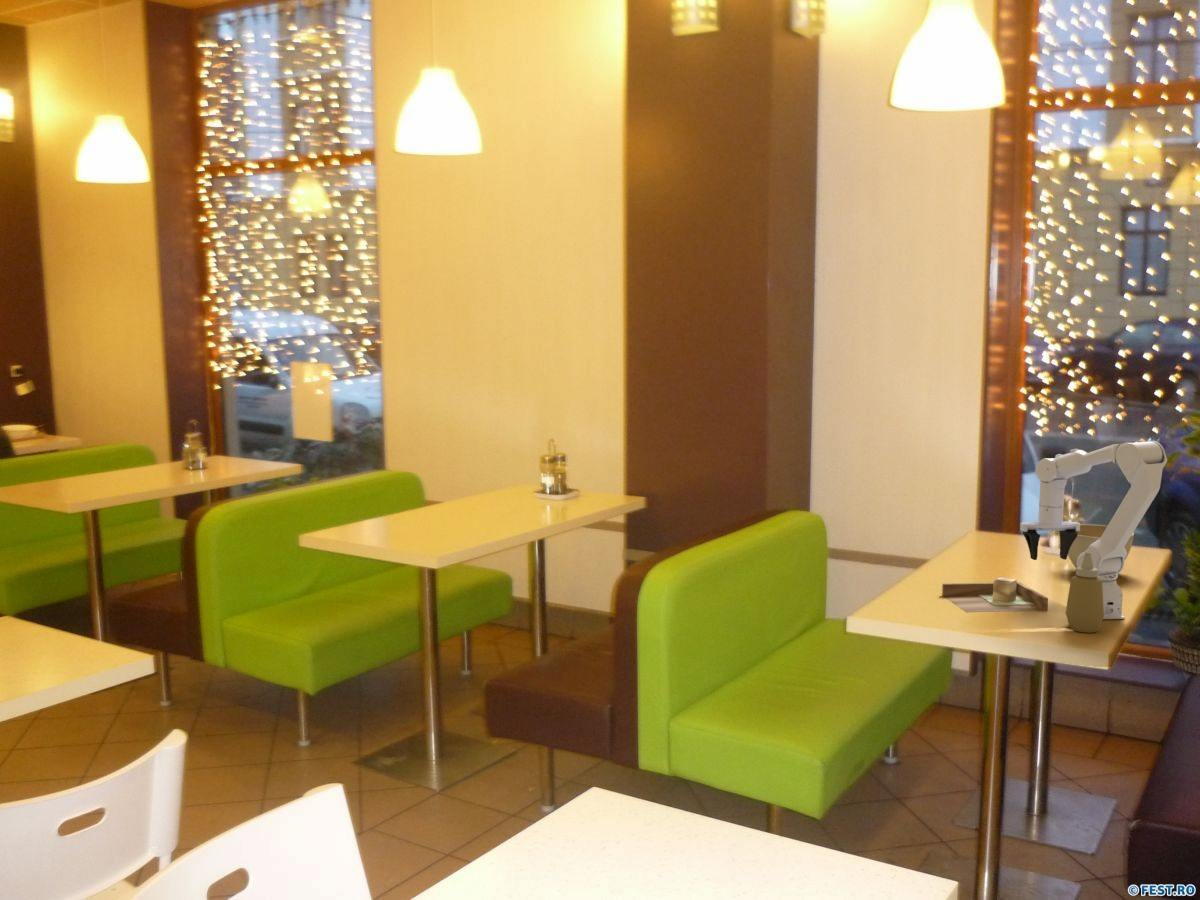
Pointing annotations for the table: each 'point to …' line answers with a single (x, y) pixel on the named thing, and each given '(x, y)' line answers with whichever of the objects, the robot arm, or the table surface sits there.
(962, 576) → the table surface
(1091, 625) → the squeeze bottle
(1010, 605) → the arena
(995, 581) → the block
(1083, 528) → the beige bowl
